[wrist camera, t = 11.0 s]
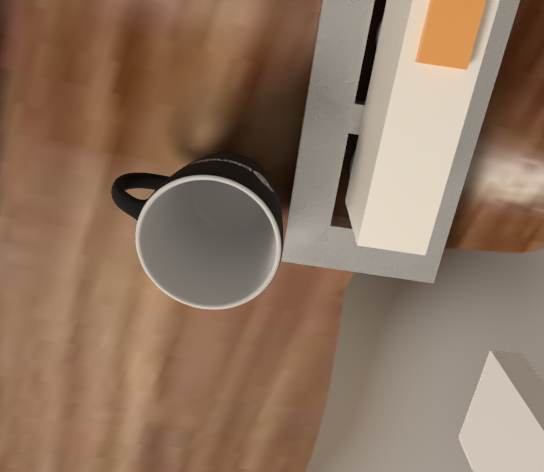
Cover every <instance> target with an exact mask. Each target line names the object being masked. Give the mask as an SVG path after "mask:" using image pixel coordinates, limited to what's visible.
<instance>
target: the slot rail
mask: <svg viewBox="0 0 544 472" xmlns="http://www.w3.org/2000/svg"><path fill="white" fill-rule="evenodd" d="M374 2H375V0H322V2H321V8H320V14H319V21H318V27H317V33H316V40H315V46H314V52H313V59H312V65H311V71H310V78H309V84H308V90H307V97H306V103H305V109H304V116H303V122H302V128H301V135H300V141H299V148H298V154H297V160H296V167H295V173H294V179H293V186H292V192H291V198H290V205H289V211H288V217H287V224H286V230H285V236H284V243H283V250H282V261H284V262H291V263H297V264H304V265H311V266H318V267H325V268H332V269H339V270H346V271H352V272H359V273H366V274H373V275H380V276H387V277H394V278H401V279H408V280H414V281H421V282H428V283H434V280H435V277H436V274H437V270H438V267H439V264H440V260H441V257H442V254H443V251H444V247H445V244H446V241H447V238H448V234H449V231H450V228H451V225H452V221H453V218H454V215H455V211H456V208H457V205H458V202H459V198H460V195H461V192H462V189H463V185H464V182H465V179H466V176H467V172H468V169H469V166H470V162H471V159H472V156H473V153H474V149H475V146H476V143H477V140H478V136H479V133H480V130H481V126H482V123H483V120H484V117H485V113H486V110H487V107H488V104H489V100H490V97H491V94H492V91H493V87H494V84H495V81H496V77H497V74H498V71H499V68H500V64H501V61H502V58H503V55H504V51H505V48H506V45H507V42H508V38H509V35H510V32H511V28H512V25H513V22H514V19H515V15H516V12H517V9H518V6H519V2H520V0H500V1H499V4H498V8H497V11H496V15H495V18H494V21H493V25H492V28H491V32H490V35H489V39H488V42H487V45H486V49H485V52H484V56H483V59H482V63H481V66H480V70H479V73H478V76H477V80H476V83H475V87H474V90H473V94H472V97H471V100H470V104H469V107H468V111H467V114H466V118H465V121H464V125H463V128H462V131H461V135H460V138H459V142H458V145H457V149H456V152H455V155H454V159H453V162H452V166H451V169H450V173H449V176H448V180H447V183H446V186H445V190H444V193H443V197H442V200H441V204H440V207H439V210H438V214H437V217H436V221H435V224H434V228H433V231H432V234H431V238H430V241H429V245H428V248H427V252H426V255H419V254H412V253H405V252H398V251H391V250H384V249H377V248H371V247H364V246H357V243H356V240H355V236H354V232H353V229H352V225H351V221H350V218H349V217H343V216H336V215H332V214H333V209H334V204H335V199H336V194H337V189H338V184H339V179H340V174H341V169H342V164H343V159H344V154H345V149H346V143H347V138H348V133H350V134H357V135H359V132H360V127H361V122H362V117H363V112H364V107H365V101H358V100H355V98H356V93H357V88H358V83H359V78H360V73H361V67H362V62H363V57H364V52H365V47H366V42H367V37H368V32H369V27H370V22H371V17H372V12H373V7H374Z"/></svg>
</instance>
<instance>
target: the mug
mask: <svg viewBox="0 0 544 472" xmlns="http://www.w3.org/2000/svg"><path fill="white" fill-rule="evenodd" d="M133 188H146V189H154V190H155V191H154V193H153V194H152V195H151V196H150V197H149V199H146V200H140V199H137V198H134V197H133V196H131V195H129V194H128V193H127V192H126V191H125V190H127V189H133ZM111 193H112V198H113V201H114V202H115V204H116V205H117V206H118V207H119V208H120V209H121V210H123V211H124V212H126V213H127V214H129V215H130V216H132V217H133V218H135V219H136V220H137V226H136V234H135V239H136V249H137V253H138V256H139V259H140V262H141V264H142V266H143V268H144V270H145V272H146V273H147V275H148V276H149V277H150V279H151V280H152V281H153V282H154V284H155V285H156V286H157V287H159V288H160V289H161V290H162V291H163V292H164V293H166V294H167V295H169V296H170V297H172V298H173V299H175V300H177V301H179V302H181V303H184V304H186V305H189V306H193V307H197V308H202V309H226V308H231V307H235V306H238V305H241V304H243V303H246V302H248V301H250V300H251V299H253V298H255V297H256V296H257V295H259V294H260V293H261V292H262V291H263V290H264V289H265V288H266V287H267V286H268V285H269V283H270V282H271V281H272V279H273V277H274V276H275V274H276V272H277V269H278V267H279V264H280V260H281V256H282V249H283V221H282V212H281V207H280V202H279V198H278V195H277V192H276V189H275V187H274V185H273V183H272V181H271V179H270V178H269V176H268V175H267V173H266V172H265V171H264V170H263V169H262V168H261V167H260V166H259V165H258V164H257V163H255V162H254V161H252V160H250V159H248V158H246V157H244V156H241V155H238V154H232V153H219V154H213V155H209V156H205V157H203V158H200V159H198V160H196V161H194V162H192V163H190V164H188V165H186V166H185V167H183V168H182V169H180V170H179V171H177V172H176V173H175V174H173V175H172V176H171V177H168V176H162V175H157V174H150V173H128V174H124V175H122V176H120V177H118V178H117V179H116V180H115V182H114V183H113V186H112V191H111Z"/></svg>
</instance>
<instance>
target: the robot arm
mask: <svg viewBox="0 0 544 472" xmlns="http://www.w3.org/2000/svg"><path fill="white" fill-rule="evenodd" d="M459 441H460V443H461V445H462V448H463V450H464V452H465V454H466V457H467V459H468V461H469V464H470V466H471V468H472V471H473V472H544V382H543V381H542V379H541V378H540V377H539V375H538V374H537V373H536V371H535V370H534V369H533V367H532V366H531V365H530V363H529V362H528V361H527V359H526V358H525V357H524V355H523V354H520V353H511V352H502V351H494V350H490V352H489V355H488V358H487V361H486V363H485V366H484V369H483V372H482V375H481V377H480V380H479V383H478V386H477V388H476V391H475V394H474V396H473V399H472V402H471V405H470V407H469V410H468V413H467V415H466V418H465V421H464V424H463V426H462V430H461V432H460V435H459Z"/></svg>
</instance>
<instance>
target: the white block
mask: <svg viewBox="0 0 544 472" xmlns="http://www.w3.org/2000/svg"><path fill="white" fill-rule="evenodd" d="M499 1H500V0H387V1H386V6H385V10H384V15H383V18H382V19H381V21H380V23H379V25H378V27H377V30H376V35H375V45H376V54H375V59H374V64H373V69H372V73H371V78H370V83H369V88H368V93H367V98H366V102H365V107H364V112H363V117H362V122H361V127H360V132H359V136H358V141H357V146H356V150H355V151H354V153H353V154H352V156H351V159H350V162H349V173H350V180H349V185H348V190H347V194H346V199H345V203H346V207H347V210H348V214H349V218H350V221H351V225H352V229H353V232H354V236H355V240H356V243H357V246H364V247H371V248H377V249H384V250H391V251H398V252H405V253H412V254H419V255H426V252H427V248H428V245H429V241H430V238H431V234H432V231H433V228H434V224H435V221H436V217H437V214H438V210H439V207H440V204H441V200H442V197H443V193H444V190H445V186H446V183H447V180H448V176H449V173H450V169H451V166H452V162H453V159H454V155H455V152H456V149H457V145H458V142H459V138H460V135H461V131H462V128H463V125H464V121H465V118H466V114H467V111H468V107H469V104H470V100H471V97H472V94H473V90H474V87H475V83H476V80H477V76H478V73H479V70H480V66H481V63H482V59H483V56H484V52H485V49H486V45H487V42H488V39H489V35H490V32H491V28H492V25H493V21H494V18H495V15H496V11H497V8H498V4H499Z"/></svg>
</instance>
